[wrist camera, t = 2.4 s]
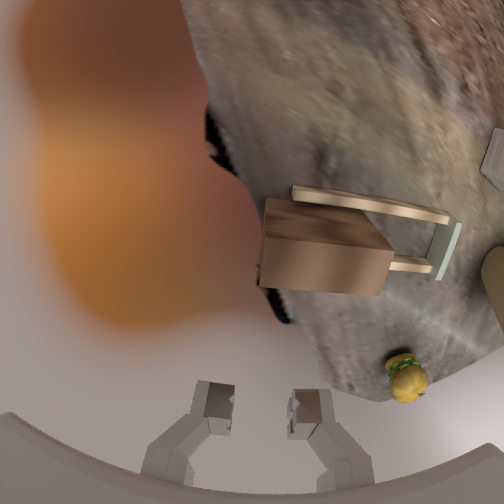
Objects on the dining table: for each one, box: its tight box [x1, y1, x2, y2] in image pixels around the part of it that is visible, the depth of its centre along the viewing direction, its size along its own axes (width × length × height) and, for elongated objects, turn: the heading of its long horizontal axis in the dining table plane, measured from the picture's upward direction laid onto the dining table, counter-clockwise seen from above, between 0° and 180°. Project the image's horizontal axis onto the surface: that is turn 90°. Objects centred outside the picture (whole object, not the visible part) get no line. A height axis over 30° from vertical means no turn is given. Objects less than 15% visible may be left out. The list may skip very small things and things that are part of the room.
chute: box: [292, 185, 450, 273], centre depth 32 cm, size 22×9×2 cm, turn 85°
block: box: [259, 198, 395, 295], centre depth 28 cm, size 12×5×11 cm, turn 85°
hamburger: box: [385, 353, 428, 403], centre depth 40 cm, size 8×7×12 cm
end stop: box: [426, 211, 462, 280], centre depth 31 cm, size 1×9×4 cm, turn 176°
